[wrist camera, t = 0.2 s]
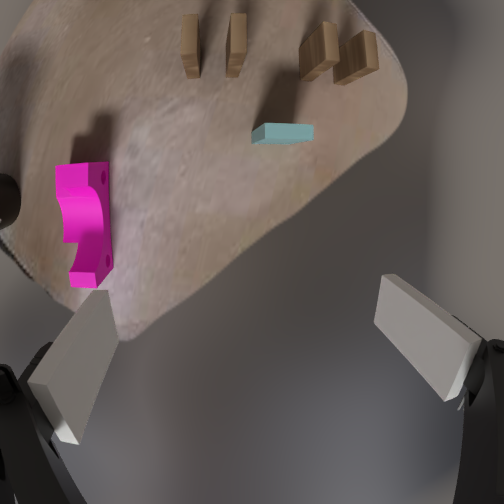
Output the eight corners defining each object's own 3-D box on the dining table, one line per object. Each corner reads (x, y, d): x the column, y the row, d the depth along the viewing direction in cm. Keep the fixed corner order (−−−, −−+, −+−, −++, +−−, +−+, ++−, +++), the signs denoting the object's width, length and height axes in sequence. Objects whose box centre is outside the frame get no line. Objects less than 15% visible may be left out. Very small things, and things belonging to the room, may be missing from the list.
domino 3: (251, 131, 37) (264, 122, 28) (288, 132, 38) (313, 124, 28) (251, 143, 37) (265, 138, 28) (289, 144, 38) (313, 140, 29)
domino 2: (225, 77, 34) (230, 52, 25) (225, 45, 33) (230, 13, 23) (238, 77, 34) (246, 52, 25) (237, 45, 33) (246, 13, 24)
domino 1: (187, 78, 34) (180, 54, 24) (188, 46, 32) (182, 14, 23) (199, 78, 34) (196, 52, 24) (200, 45, 32) (198, 13, 23)
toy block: (70, 164, 35) (44, 166, 28) (109, 161, 36) (88, 162, 29) (76, 266, 39) (55, 286, 32) (113, 267, 40) (96, 288, 33)
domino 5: (333, 84, 36) (367, 66, 27) (332, 53, 35) (363, 29, 25) (344, 85, 36) (379, 69, 27) (342, 55, 35) (375, 32, 25)
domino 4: (300, 80, 36) (326, 59, 26) (298, 48, 34) (323, 21, 25) (311, 81, 36) (339, 61, 26) (309, 50, 34) (336, 23, 25)
